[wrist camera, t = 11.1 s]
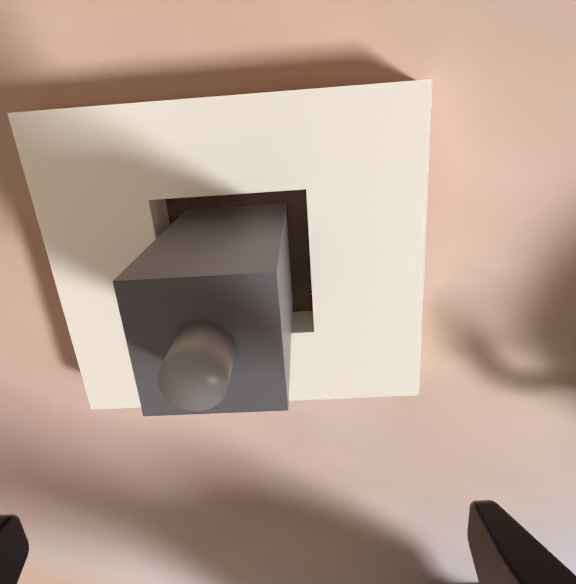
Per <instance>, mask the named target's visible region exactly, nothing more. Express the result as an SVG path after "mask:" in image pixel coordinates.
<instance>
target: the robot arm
mask: <svg viewBox="0 0 576 584" xmlns="http://www.w3.org/2000/svg"><path fill="white" fill-rule="evenodd" d="M468 542H469V547H470V550H471V554H472V558H473V562H474V565H475V569H476V573H477V577H478V580H479V584H576V576H575V575H574V574H573V573H572V572H571V571H570V570H569V569H568V568H567V567H566V566H565V565H564V564H562V563H561V562H560V561H559V560H558V559H557V558H556V557H555V556H554V555H553V554H552V553H550V552H549V551H548V550H547V549H546V548H545V547H544V546H543V545H542V544H541V543H540V542H538V541H537V540H536V539H535V538H534V537H533V536H532V535H531V534H530V533H529V532H528V531H526V530H525V529H524V528H523V527H522V526H521V525H520V524H519V523H518V522H517V521H516V520H515V519H513V518H512V517H511V516H510V515H509V514H508V513H507V512H506V511H505V510H504V509H503V508H501V507H500V506H499V505H498V504H497V503H496V502H494V501H491V500H484V501H473V502H472V503H471V505H470V511H469V522H468ZM28 551H29V543H28V540H27V537H26V535H25V532H24V530H23V527H22V524H21V522H20V519H19V518H18V517H17V516H16V515H13V514H12V515H0V584H17V582H18V579H19V577H20V574H21V572H22V569H23V567H24V564H25V561H26V559H27V556H28Z"/></svg>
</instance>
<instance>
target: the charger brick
mask: <svg viewBox="0 0 576 584" xmlns="http://www.w3.org/2000/svg"><path fill="white" fill-rule="evenodd" d="M113 286H114V290H115V295H116V299H117V303H118V308H119V312H120V316H121V321H122V325H123V329H124V334H125V338H126V343H127V347H128V351H129V356H130V360H131V364H132V369H133V373H134V377H135V382H136V386H137V391H138V395H139V399H140V404H141V408H142V412H143V416H160V415H185V414H209V413H234V412H259V411H283V410H288V402H289V378H290V354H291V331H292V307H293V288H292V274H291V260H290V245H289V231H288V217H287V203H286V202H285V203H269V204H254V205H238V206H222V207H206V208H191V209H186V210H185V211H184V212H183V213H182V214H181V215H180V216H179V217H178V218H177V219H176V220H175V221H174V222H173V223H172V224H171V225H170V226H169V227H168V228H167V229H166V230H165V231H164V232H163V233H162V234H161V235H159V236H158V237H157V238H156V239H155V240H154V241H153V242H152V243H151V244H150V245H149V246H148V247H147V248H146V249H145V250H144V251H143V252H142V253H141V254H140V255H139V256H138V257H137V258H136V259H135V260H134V261H133V262H132V263H131V264H130V265H129V266H128V267H126V268H125V269H124V270H123V271H122V272H121V273H120V274H119V275H118V276H117V277H116V278H115V279H114V280H113Z"/></svg>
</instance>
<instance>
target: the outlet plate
mask: <svg viewBox="0 0 576 584" xmlns="http://www.w3.org/2000/svg"><path fill="white" fill-rule="evenodd" d="M431 101H432V79H427V80H414V81H402V82H389V83H376V84H364V85H351V86H339V87H326V88H314V89H301V90H288V91H276V92H263V93H251V94H238V95H225V96H213V97H200V98H188V99H175V100H163V101H150V102H137V103H125V104H112V105H100V106H87V107H74V108H62V109H49V110H37V111H24V112H12V113H7V115H8V118H9V122H10V125H11V129H12V132H13V136H14V139H15V143H16V146H17V150H18V153H19V157H20V160H21V164H22V168H23V171H24V175H25V178H26V182H27V185H28V189H29V192H30V196H31V199H32V203H33V206H34V210H35V213H36V217H37V220H38V224H39V227H40V231H41V234H42V238H43V241H44V245H45V249H46V252H47V256H48V259H49V263H50V266H51V270H52V273H53V277H54V280H55V284H56V287H57V291H58V294H59V298H60V301H61V305H62V308H63V312H64V315H65V319H66V322H67V326H68V330H69V333H70V337H71V340H72V344H73V347H74V351H75V354H76V358H77V361H78V365H79V368H80V372H81V375H82V379H83V382H84V386H85V389H86V393H87V396H88V400H89V403H90V407H91V410H93V409H115V408H138V407H141V404H140V399H139V395H138V391H137V386H136V382H135V377H134V373H133V369H132V364H131V360H130V356H129V351H128V347H127V343H126V338H125V334H124V329H123V325H122V321H121V316H120V312H119V308H118V303H117V299H116V295H115V290H114V286H113V280H114V279H115V278H116V277H117V276H118V275H119V274H120V273H121V272H122V271H123V270H124V269H125V268H126V267H128V266H129V265H130V264H131V263H132V262H133V261H134V260H135V259H136V258H137V257H138V256H139V255H140V254H141V253H142V252H143V251H144V250H145V249H146V248H147V247H148V246H149V245H150V244H151V243H152V242H153V241H154V240H155V239H156V238H157V237H158V236H159V235H161V234H162V233H163V232H164V231H165V230H166V229H167V228H168V227H169V226H170V222H169V216H168V211H167V205H166V199H172V198H187V197H201V196H216V195H231V194H245V193H260V192H275V191H289V190H304V189H306V196H307V214H308V231H309V249H310V266H311V284H312V301H313V311H297V312H292V331H291V354H290V378H289V401H296V400H318V399H341V398H363V397H386V396H409V395H419V384H420V360H421V337H422V313H423V290H424V266H425V242H426V219H427V195H428V171H429V148H430V124H431Z"/></svg>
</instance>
